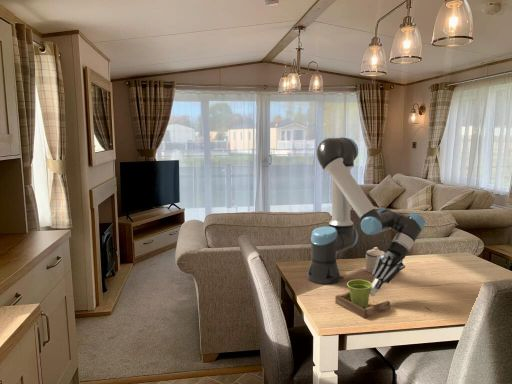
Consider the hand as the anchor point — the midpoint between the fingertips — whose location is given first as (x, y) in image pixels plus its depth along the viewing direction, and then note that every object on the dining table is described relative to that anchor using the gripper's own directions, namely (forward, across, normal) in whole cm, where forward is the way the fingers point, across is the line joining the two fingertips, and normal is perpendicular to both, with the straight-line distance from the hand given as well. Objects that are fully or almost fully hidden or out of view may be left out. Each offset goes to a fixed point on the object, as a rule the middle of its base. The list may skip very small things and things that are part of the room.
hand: (370, 294), depth 157 cm
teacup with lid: (-19, +26, -25) cm, 41 cm away
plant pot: (+6, +1, 0) cm, 6 cm away
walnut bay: (+6, 0, 0) cm, 6 cm away
